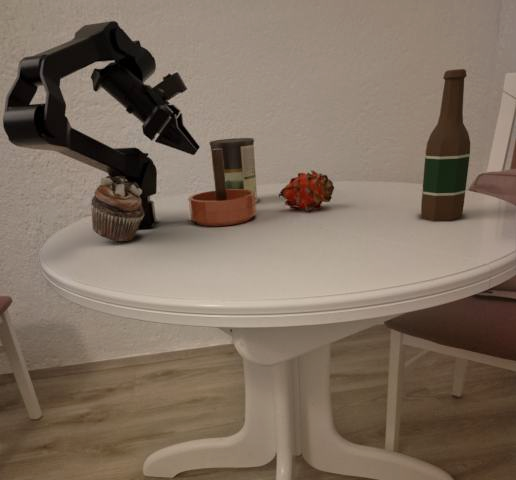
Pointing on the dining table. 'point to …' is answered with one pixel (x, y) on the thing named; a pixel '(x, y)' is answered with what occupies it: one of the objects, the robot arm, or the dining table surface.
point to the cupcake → (117, 208)
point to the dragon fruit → (307, 191)
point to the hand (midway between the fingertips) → (197, 151)
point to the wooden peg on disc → (219, 174)
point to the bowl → (222, 207)
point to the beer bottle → (447, 155)
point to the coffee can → (238, 163)
